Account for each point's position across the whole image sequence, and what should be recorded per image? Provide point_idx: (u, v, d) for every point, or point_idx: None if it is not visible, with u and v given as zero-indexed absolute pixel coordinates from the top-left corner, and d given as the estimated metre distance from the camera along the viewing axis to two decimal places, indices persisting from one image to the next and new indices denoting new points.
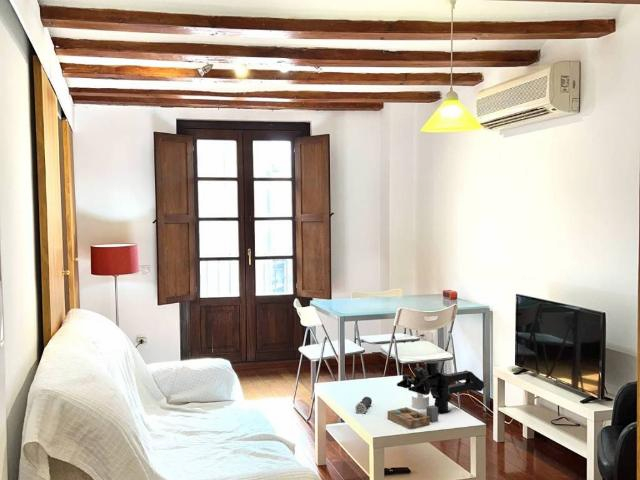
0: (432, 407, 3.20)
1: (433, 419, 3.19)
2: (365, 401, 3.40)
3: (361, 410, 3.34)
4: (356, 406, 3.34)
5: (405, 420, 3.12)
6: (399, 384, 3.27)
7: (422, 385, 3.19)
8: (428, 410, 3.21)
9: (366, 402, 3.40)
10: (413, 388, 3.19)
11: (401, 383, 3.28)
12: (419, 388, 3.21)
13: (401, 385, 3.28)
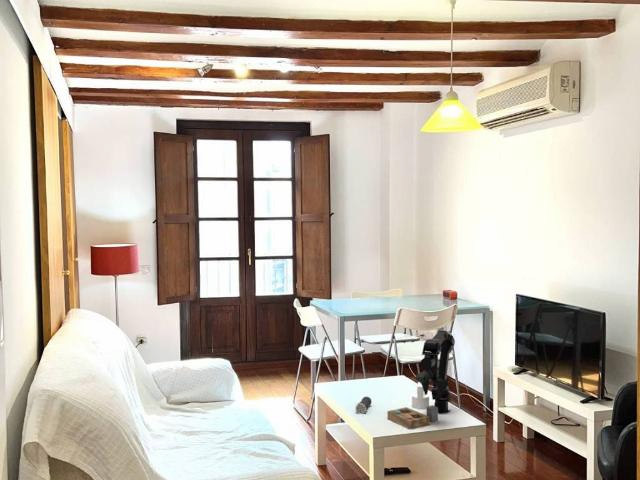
0: (432, 407, 3.20)
1: (433, 419, 3.19)
2: (365, 401, 3.40)
3: (361, 410, 3.34)
4: (356, 406, 3.34)
5: (405, 420, 3.12)
6: (426, 391, 3.25)
7: (439, 387, 3.13)
8: (428, 410, 3.21)
9: (366, 402, 3.40)
10: (439, 394, 3.16)
11: (425, 389, 3.25)
12: (440, 387, 3.16)
13: (427, 389, 3.25)
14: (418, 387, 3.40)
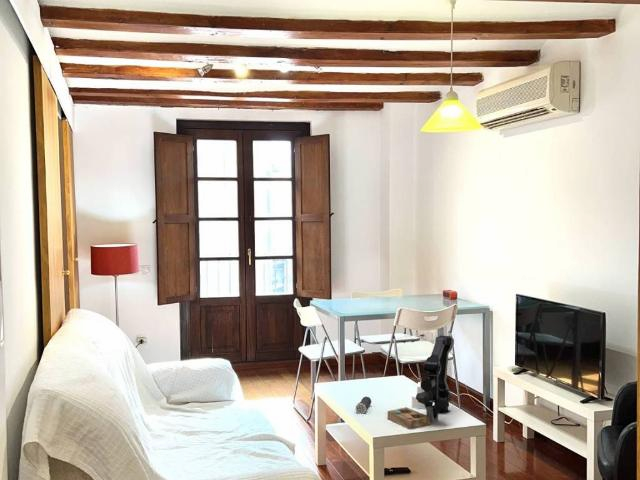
0: None
1: (433, 419, 3.19)
2: (365, 401, 3.40)
3: (361, 410, 3.34)
4: (356, 406, 3.34)
5: (405, 420, 3.12)
6: None
7: None
8: (428, 410, 3.21)
9: (366, 402, 3.40)
10: (436, 414, 3.18)
11: None
12: None
13: None
14: (418, 387, 3.40)
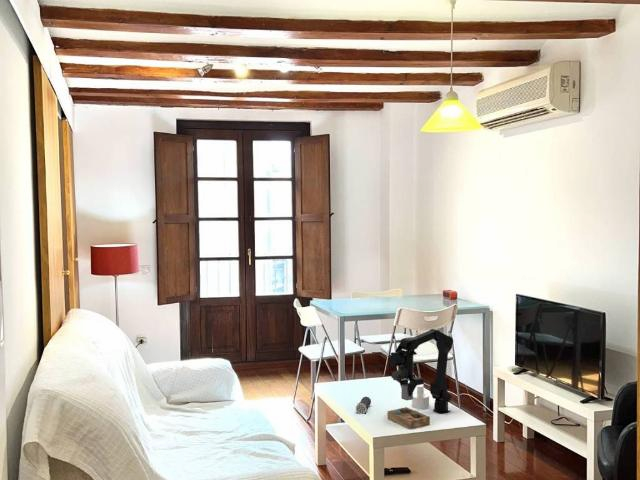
0: (407, 385, 3.22)
1: (408, 397, 3.21)
2: (365, 401, 3.40)
3: (361, 410, 3.34)
4: (356, 406, 3.34)
5: (405, 420, 3.12)
6: None
7: (411, 385, 3.17)
8: (403, 388, 3.22)
9: (366, 402, 3.40)
10: (411, 392, 3.20)
11: None
12: (412, 385, 3.20)
13: None
14: (418, 387, 3.40)
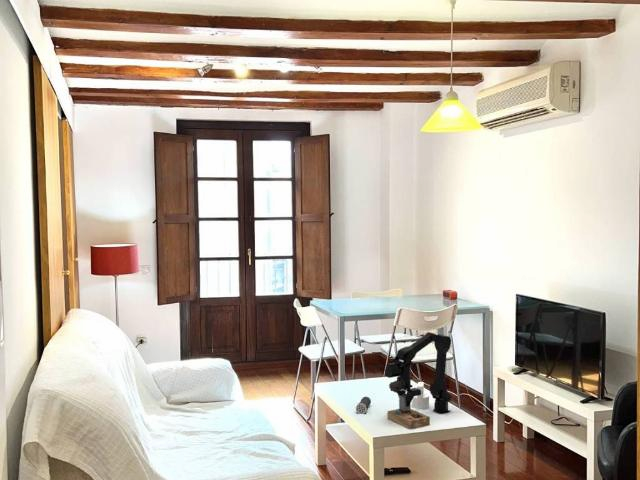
0: None
1: (405, 407, 3.21)
2: (365, 401, 3.40)
3: (361, 410, 3.34)
4: (356, 406, 3.34)
5: (405, 420, 3.12)
6: None
7: (408, 395, 3.18)
8: (401, 399, 3.23)
9: (366, 402, 3.40)
10: (408, 402, 3.21)
11: None
12: (409, 395, 3.21)
13: None
14: (418, 387, 3.40)
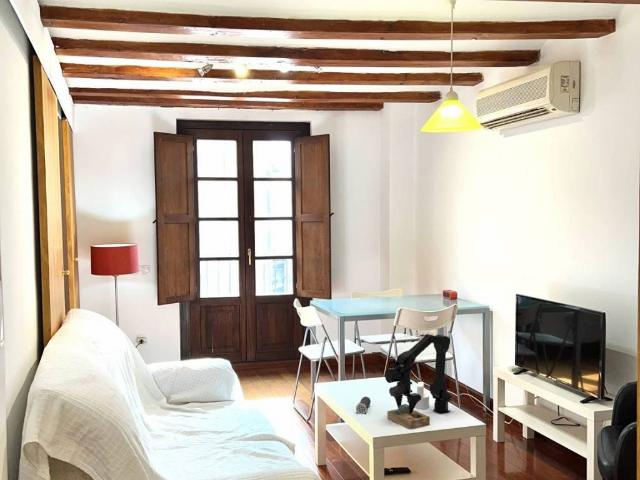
0: (404, 406, 3.23)
1: None
2: (365, 401, 3.40)
3: (361, 410, 3.33)
4: (356, 406, 3.34)
5: (405, 420, 3.12)
6: None
7: None
8: (401, 409, 3.23)
9: (366, 402, 3.39)
10: (411, 409, 3.19)
11: (398, 402, 3.27)
12: (412, 402, 3.19)
13: (400, 403, 3.28)
14: (418, 387, 3.40)
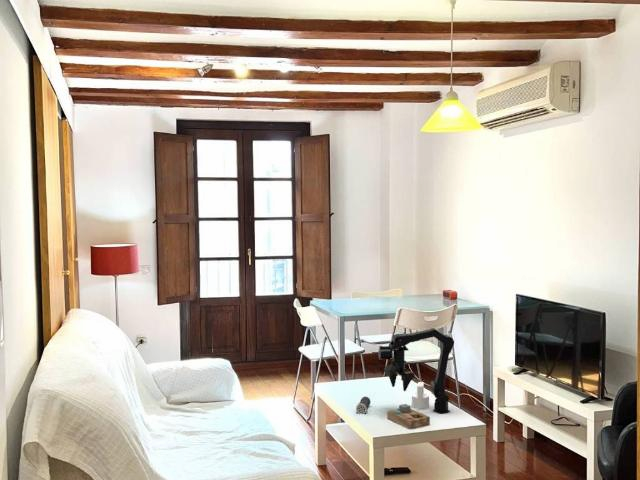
0: (404, 406, 3.23)
1: None
2: (365, 401, 3.40)
3: (362, 410, 3.33)
4: (357, 406, 3.34)
5: (405, 420, 3.12)
6: (393, 384, 3.37)
7: (405, 380, 3.26)
8: (401, 409, 3.23)
9: (366, 402, 3.39)
10: (405, 386, 3.29)
11: (392, 381, 3.37)
12: (406, 380, 3.28)
13: (394, 381, 3.38)
14: (418, 387, 3.40)
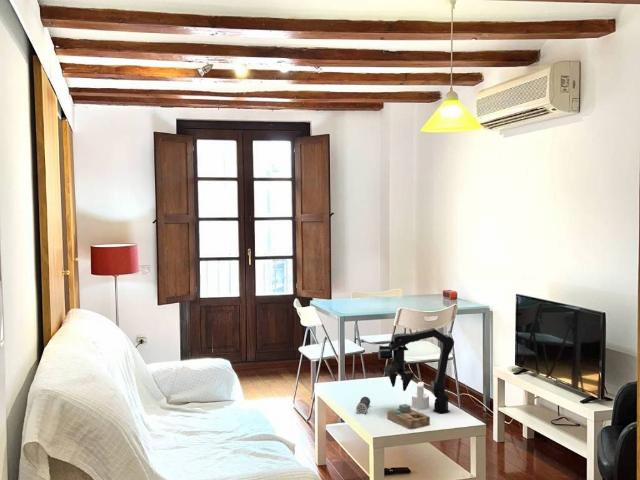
0: (404, 406, 3.23)
1: None
2: (365, 401, 3.40)
3: (362, 410, 3.33)
4: (357, 406, 3.33)
5: (405, 420, 3.12)
6: (393, 383, 3.38)
7: (405, 379, 3.27)
8: (401, 409, 3.23)
9: (366, 402, 3.39)
10: (405, 386, 3.29)
11: (392, 381, 3.38)
12: (406, 379, 3.29)
13: (394, 381, 3.38)
14: (418, 387, 3.40)
